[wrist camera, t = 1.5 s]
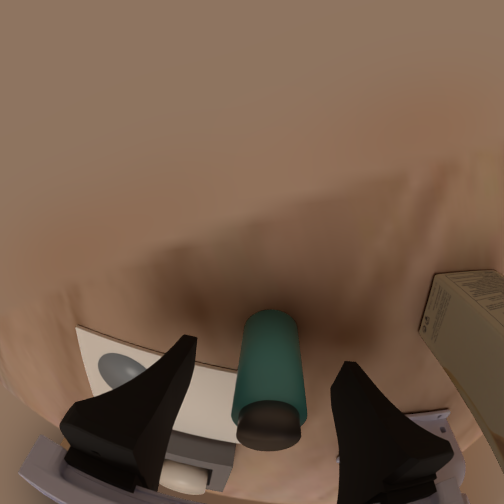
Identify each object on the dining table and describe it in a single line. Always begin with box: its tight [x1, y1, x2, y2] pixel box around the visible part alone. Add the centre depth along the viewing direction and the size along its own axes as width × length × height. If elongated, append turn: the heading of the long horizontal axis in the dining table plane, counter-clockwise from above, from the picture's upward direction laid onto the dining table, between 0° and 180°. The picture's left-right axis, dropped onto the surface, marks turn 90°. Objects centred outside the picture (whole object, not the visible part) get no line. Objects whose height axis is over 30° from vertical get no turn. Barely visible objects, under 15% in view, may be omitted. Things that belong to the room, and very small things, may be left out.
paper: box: [76, 325, 241, 444], centre depth 18 cm, size 14×9×1 cm, turn 79°
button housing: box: [165, 429, 236, 492], centre depth 20 cm, size 8×8×3 cm
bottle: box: [231, 310, 307, 451], centre depth 12 cm, size 3×3×7 cm
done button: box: [159, 459, 209, 495], centre depth 18 cm, size 4×4×3 cm
